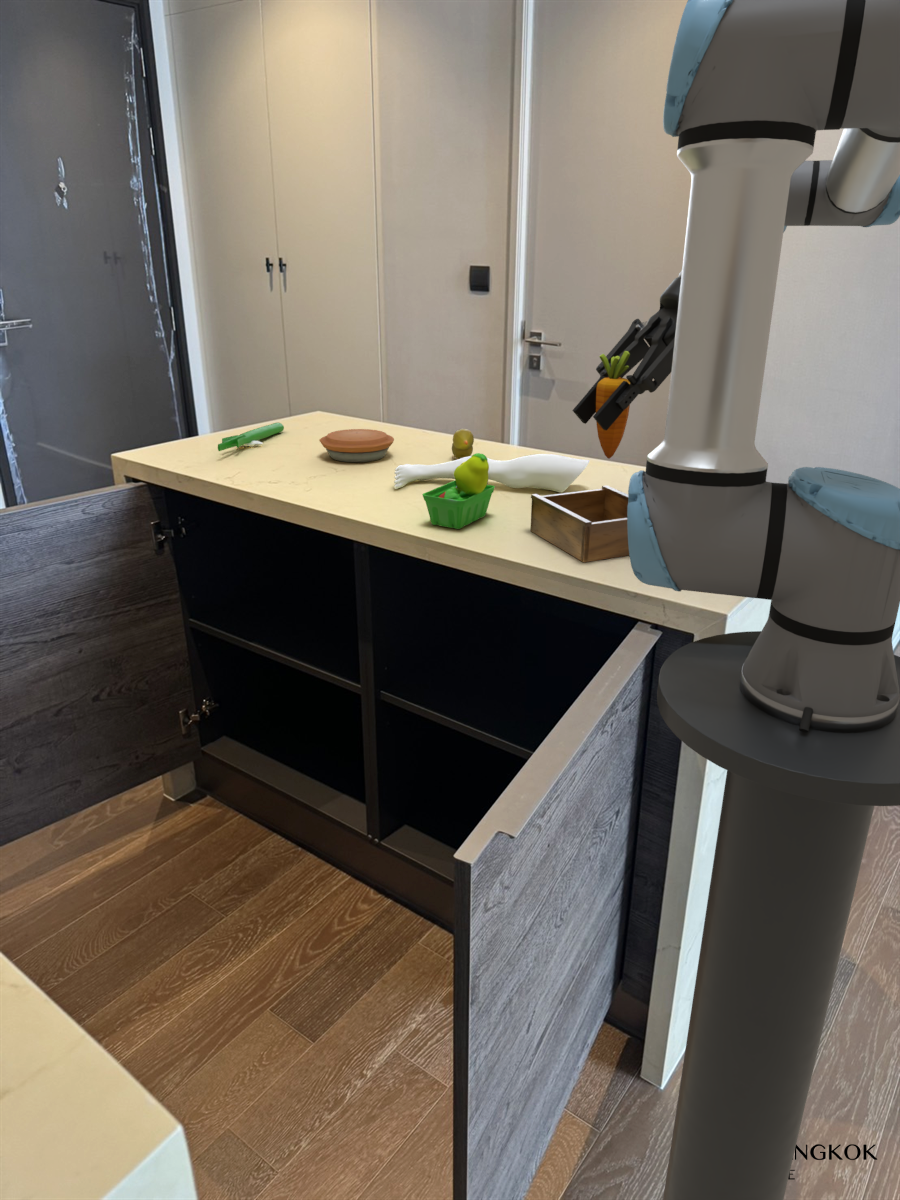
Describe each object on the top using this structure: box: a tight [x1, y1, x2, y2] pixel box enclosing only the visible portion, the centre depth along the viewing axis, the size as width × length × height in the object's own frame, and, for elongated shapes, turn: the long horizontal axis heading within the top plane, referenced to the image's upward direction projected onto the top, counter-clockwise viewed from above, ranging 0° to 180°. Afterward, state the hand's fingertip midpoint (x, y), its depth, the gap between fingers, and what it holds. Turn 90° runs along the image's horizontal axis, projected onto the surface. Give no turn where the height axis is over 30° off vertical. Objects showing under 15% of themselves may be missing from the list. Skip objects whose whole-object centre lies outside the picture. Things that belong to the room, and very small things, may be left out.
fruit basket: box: [422, 452, 496, 530], centre depth 137 cm, size 11×9×11 cm
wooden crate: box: [530, 484, 629, 563], centre depth 129 cm, size 16×14×6 cm
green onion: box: [217, 422, 285, 452], centre depth 190 cm, size 5×3×30 cm
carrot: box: [595, 351, 631, 460], centre depth 121 cm, size 5×5×15 cm
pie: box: [318, 428, 395, 463], centre depth 180 cm, size 16×16×5 cm
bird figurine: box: [451, 428, 475, 460], centre depth 178 cm, size 4×15×6 cm, turn 6°
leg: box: [393, 453, 590, 494], centre depth 157 cm, size 7×35×10 cm
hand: (589, 420), depth 121 cm, fingers closed on carrot, 5 cm apart
